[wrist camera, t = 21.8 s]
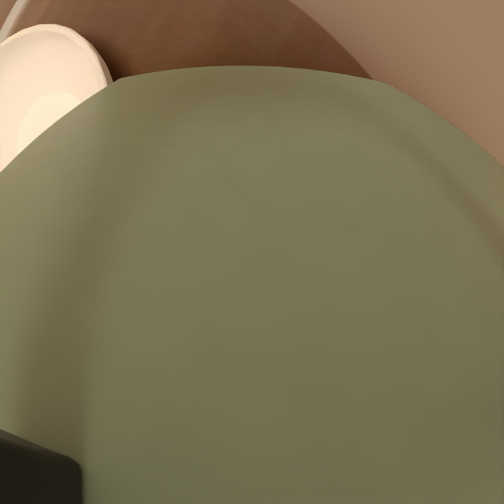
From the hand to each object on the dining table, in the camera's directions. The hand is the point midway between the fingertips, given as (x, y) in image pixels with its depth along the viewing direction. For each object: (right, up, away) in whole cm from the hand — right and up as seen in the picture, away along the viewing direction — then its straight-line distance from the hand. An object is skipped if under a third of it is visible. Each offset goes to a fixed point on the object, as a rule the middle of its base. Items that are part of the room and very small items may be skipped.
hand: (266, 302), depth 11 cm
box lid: (0, +4, -6) cm, 7 cm away
